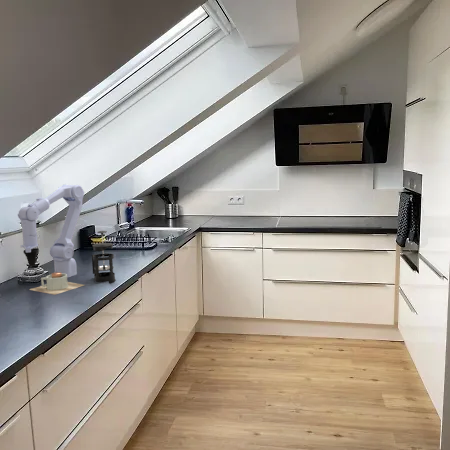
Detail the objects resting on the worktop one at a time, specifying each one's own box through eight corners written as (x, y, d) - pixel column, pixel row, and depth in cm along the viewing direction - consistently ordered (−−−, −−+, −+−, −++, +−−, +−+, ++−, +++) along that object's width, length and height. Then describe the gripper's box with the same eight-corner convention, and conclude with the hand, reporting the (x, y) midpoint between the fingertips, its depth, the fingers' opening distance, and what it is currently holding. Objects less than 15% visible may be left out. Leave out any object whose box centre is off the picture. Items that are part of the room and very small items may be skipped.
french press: (121, 280, 214) (118, 230, 210) (106, 285, 205) (103, 233, 202) (101, 277, 219) (99, 228, 216) (86, 282, 211) (83, 231, 208)
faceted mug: (68, 283, 206) (67, 272, 205) (68, 288, 198) (67, 277, 197) (42, 286, 202) (41, 274, 202) (41, 291, 194) (40, 279, 193)
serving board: (60, 282, 211) (60, 280, 211) (85, 287, 203) (85, 285, 203) (29, 291, 198) (29, 289, 198) (54, 297, 190) (54, 294, 189)
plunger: (64, 283, 204) (63, 271, 203) (64, 287, 198) (63, 274, 198) (50, 285, 202) (49, 272, 201) (50, 288, 197) (49, 275, 196)
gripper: (22, 232, 208) (25, 262, 210) (16, 238, 194) (19, 270, 196) (39, 231, 210) (41, 261, 212) (34, 237, 196) (37, 269, 198)
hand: (32, 265), depth 204 cm, fingers closed
